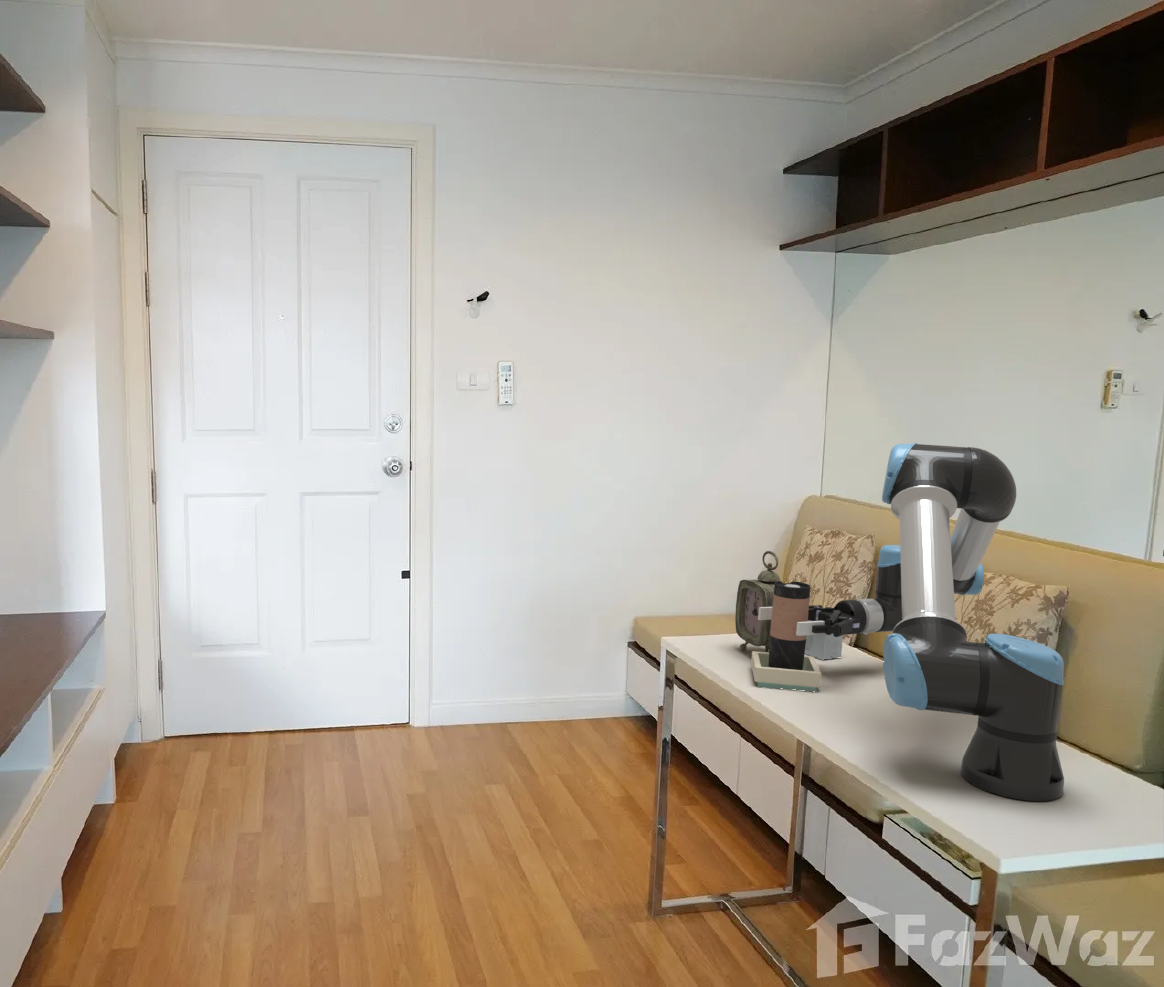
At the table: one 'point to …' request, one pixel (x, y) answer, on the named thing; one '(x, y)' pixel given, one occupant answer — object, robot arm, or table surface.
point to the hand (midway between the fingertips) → (777, 621)
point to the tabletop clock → (755, 606)
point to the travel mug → (788, 625)
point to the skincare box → (823, 646)
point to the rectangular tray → (785, 674)
